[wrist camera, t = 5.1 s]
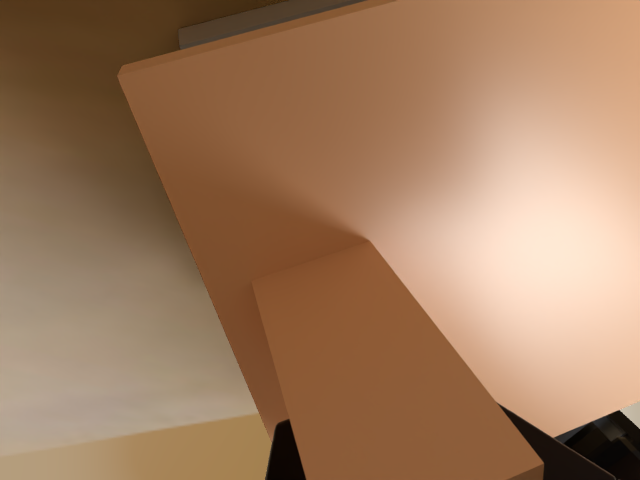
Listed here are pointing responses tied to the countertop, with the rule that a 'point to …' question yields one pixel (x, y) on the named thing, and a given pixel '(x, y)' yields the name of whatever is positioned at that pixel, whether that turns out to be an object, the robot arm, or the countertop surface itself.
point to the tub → (255, 20)
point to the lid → (414, 223)
